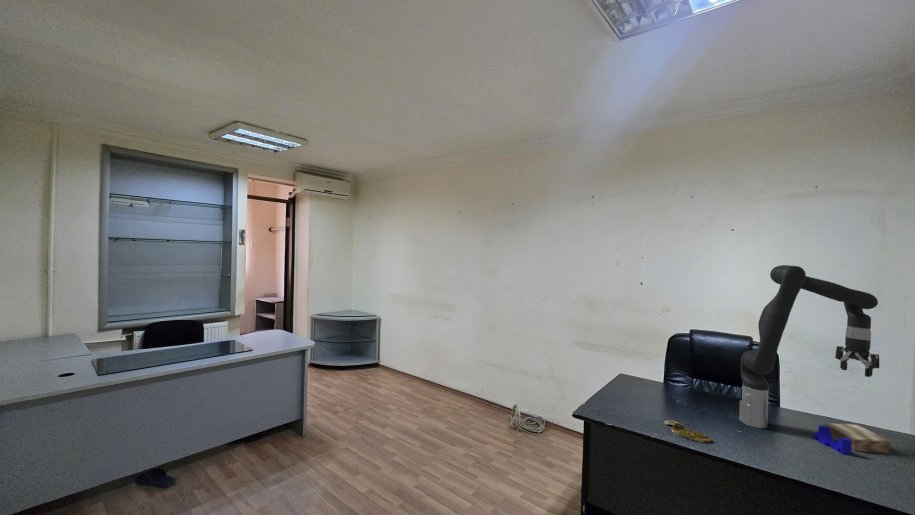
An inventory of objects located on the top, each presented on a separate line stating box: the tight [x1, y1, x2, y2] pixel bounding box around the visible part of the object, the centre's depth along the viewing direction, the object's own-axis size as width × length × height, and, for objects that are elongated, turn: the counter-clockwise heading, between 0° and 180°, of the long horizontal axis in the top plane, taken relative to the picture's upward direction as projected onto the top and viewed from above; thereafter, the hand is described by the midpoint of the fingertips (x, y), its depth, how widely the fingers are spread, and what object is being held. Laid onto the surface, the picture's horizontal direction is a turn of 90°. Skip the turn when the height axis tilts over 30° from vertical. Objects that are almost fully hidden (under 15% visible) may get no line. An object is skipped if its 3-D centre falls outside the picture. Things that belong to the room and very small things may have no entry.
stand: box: [824, 422, 891, 454], centre depth 150 cm, size 13×13×5 cm
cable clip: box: [813, 424, 852, 456], centre depth 147 cm, size 12×4×6 cm, turn 169°
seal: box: [671, 422, 714, 444], centre depth 153 cm, size 9×5×15 cm
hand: (855, 373), depth 160 cm, fingers open, 8 cm apart
